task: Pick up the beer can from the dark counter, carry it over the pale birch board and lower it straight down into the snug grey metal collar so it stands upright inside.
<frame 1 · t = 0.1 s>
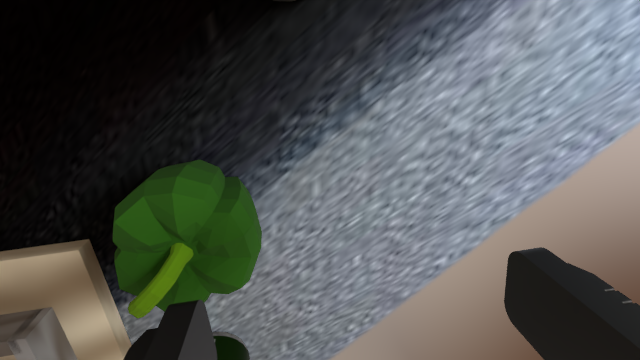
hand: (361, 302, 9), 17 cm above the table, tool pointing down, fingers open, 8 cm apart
bell pepper: (206, 197, 26), on the table
beer can: (220, 350, 31), on the table
collar board: (26, 347, 29), on the table
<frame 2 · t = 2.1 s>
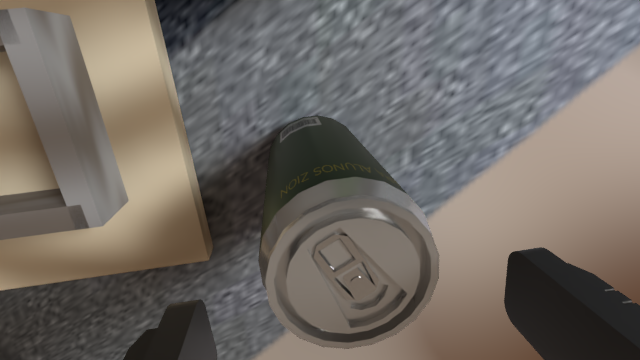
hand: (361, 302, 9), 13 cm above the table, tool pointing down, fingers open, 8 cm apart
beer can: (313, 157, 21), on the table
collar board: (26, 122, 18), on the table
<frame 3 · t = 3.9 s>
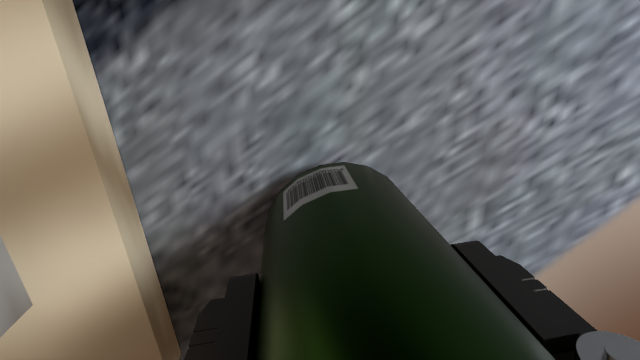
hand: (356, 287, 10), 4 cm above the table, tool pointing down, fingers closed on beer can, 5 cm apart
beer can: (334, 221, 14), on the table, touching gripper
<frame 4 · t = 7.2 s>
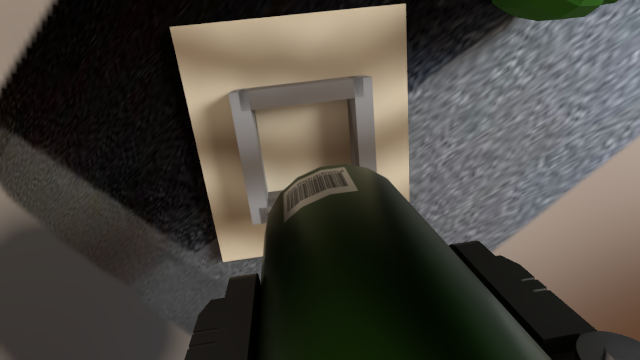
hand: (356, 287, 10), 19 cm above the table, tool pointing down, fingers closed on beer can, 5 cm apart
beer can: (334, 222, 14), point 15 cm above the table, touching gripper
collar board: (304, 140, 28), on the table
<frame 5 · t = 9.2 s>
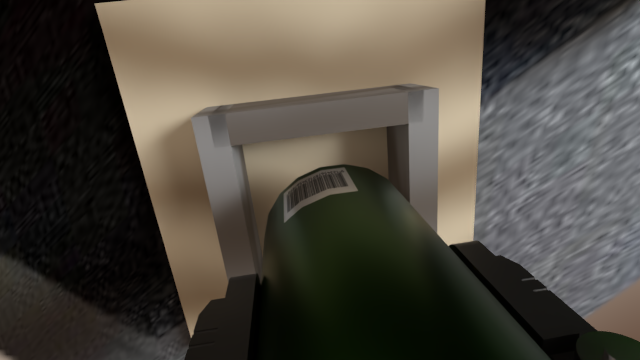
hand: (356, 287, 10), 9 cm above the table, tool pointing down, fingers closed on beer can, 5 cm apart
beer can: (335, 222, 14), point 5 cm above the table, touching gripper
collar board: (318, 180, 19), on the table
when the fingers open (6 cm above the table, at t = 10.8 s): beer can stays where it is, resting on collar board.
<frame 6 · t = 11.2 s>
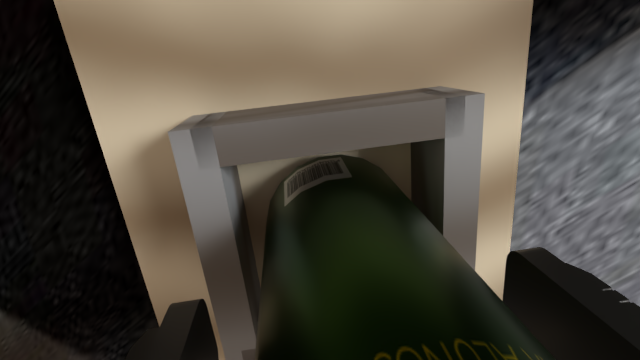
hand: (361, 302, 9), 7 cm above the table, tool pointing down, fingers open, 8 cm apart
beer can: (332, 210, 14), point 1 cm above the table, touching collar board
collar board: (326, 199, 16), on the table
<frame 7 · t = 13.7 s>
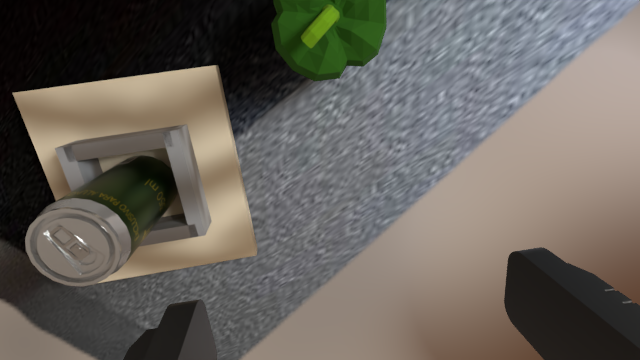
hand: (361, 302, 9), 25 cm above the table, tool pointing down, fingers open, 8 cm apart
bell pepper: (317, 27, 30), on the table
beer can: (149, 181, 31), point 1 cm above the table, touching collar board
collar board: (153, 178, 32), on the table
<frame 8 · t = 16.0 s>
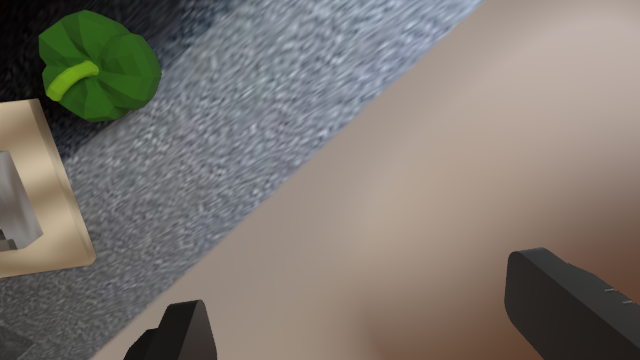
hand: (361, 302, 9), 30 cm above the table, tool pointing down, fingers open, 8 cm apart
bell pepper: (128, 66, 34), on the table
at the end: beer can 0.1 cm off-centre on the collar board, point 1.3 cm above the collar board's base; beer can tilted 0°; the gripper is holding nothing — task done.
